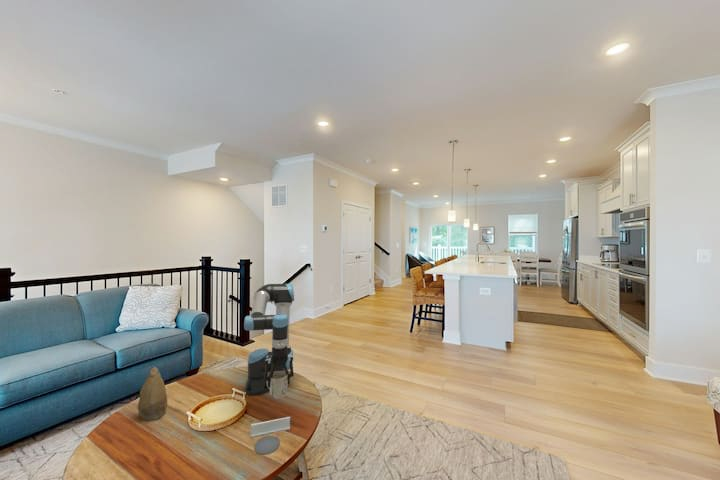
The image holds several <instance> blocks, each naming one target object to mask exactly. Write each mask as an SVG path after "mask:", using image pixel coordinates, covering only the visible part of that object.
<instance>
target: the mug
mask: <svg viewBox="0 0 720 480" xmlns="http://www.w3.org/2000/svg"><path fill="white" fill-rule="evenodd" d="M287 377H288V374H287V375H286V372H285V371H277V372H274V373H273V376H272V378H271V384H272V396H273V398H274V399H282V398H284V397H286V395H287V392H286V388H287V389H288V385H287ZM267 387H268V381H267ZM269 389H270V388H269Z"/></svg>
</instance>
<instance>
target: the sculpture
mask: <svg viewBox="0 0 720 480" xmlns="http://www.w3.org/2000/svg"><path fill="white" fill-rule="evenodd" d="M139 395H140V396H139V400H138V404H137V405H138V406H137V410H138V412H139V413H138V414H139V416H140V418H142V419H144V420H149V421H150V420H160V419H161V418H162V417H164V415H165V414H166V410H167V407H168V397H167V396H168V395H167V390H166V385H165V382H164V379H163V378H162V375H161V373H160V371H159V369H158V367H155V366H154V367H152V368H151V369H150V371H149V373H148V374H147V376H146V379H145V381H144V383H143V385H142V387H141V388H140V391H139Z"/></svg>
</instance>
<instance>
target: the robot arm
mask: <svg viewBox="0 0 720 480" xmlns="http://www.w3.org/2000/svg"><path fill="white" fill-rule="evenodd" d="M253 301H254V302H253V304H252V308H251V312H250V314H249V315H246V316H245V317H244V321H243V329H244V330H245V331H250V332H251V331H253V332H254V331H264V330H266V331H269V330H272V332H271V333H272V335H271V336H272V337H271V338H272V339H271V346H272V347H271V351H269V349H268V348H259V349H255V350H253V351H252V352H250V353H249V354H248V358H247V379H246V381H245V384H244V387H243V388H244V389H243V392H244V393H245V392H246V394H245V395H247V396H250V397H251V396H252V397H253V396H254V397H256V396H261V395H264V394H266V393H268V392H269V395H272V396H273V391H272V384H271V378H272V376H273V374H275V373H277V372H286V375H287V374H288V377H287V386H288V385H290V383H291V378H293V377H294V367H293V365H294V364H293V363H294V362H293V361H294V349H292V346H291V345H290V316H291V315H290V311H291V310H290V309H291V306H292V304H293V302H295V291H294V285H293V284H292V283H268V284H265V285H262V286H260V288H258V289H257V290H256V291H255V293H254V296H253ZM269 302H271V303H272V302H273V305H274V306H275V308H276V309H275V314H266V311H267V307H268V303H269ZM268 373H269V374H268ZM267 381H268V387H267ZM269 388H270V389H269ZM286 393H288V387H287V388H286Z"/></svg>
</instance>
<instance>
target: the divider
mask: <svg viewBox="0 0 720 480" xmlns="http://www.w3.org/2000/svg"><path fill="white" fill-rule="evenodd" d="M290 429H291V416H286V417H282V418H281V417H280V418H276V419H271V420H267V421H261V422H255V423H250V439H252V438H257V437H261V436H265V435H269V434H275V433H278V432H284V431H288V430H290Z"/></svg>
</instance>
